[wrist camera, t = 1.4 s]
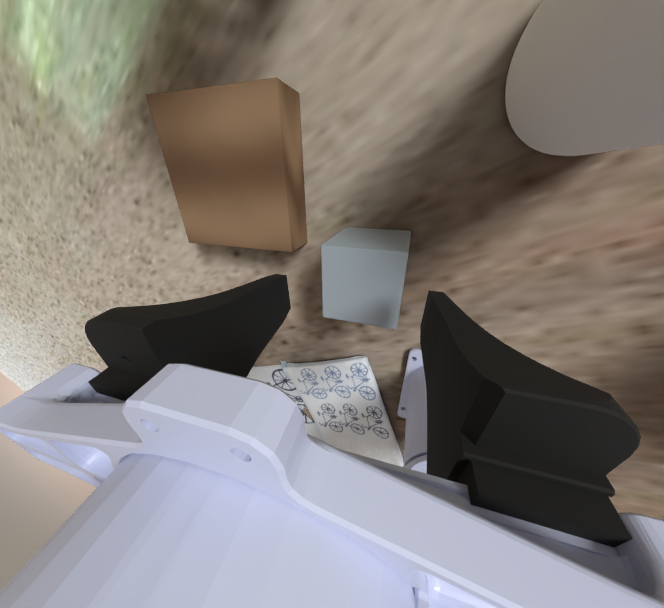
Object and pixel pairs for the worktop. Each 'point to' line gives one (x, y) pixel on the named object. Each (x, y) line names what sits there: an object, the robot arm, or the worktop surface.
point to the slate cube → (364, 275)
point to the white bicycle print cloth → (338, 404)
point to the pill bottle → (589, 77)
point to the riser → (235, 162)
